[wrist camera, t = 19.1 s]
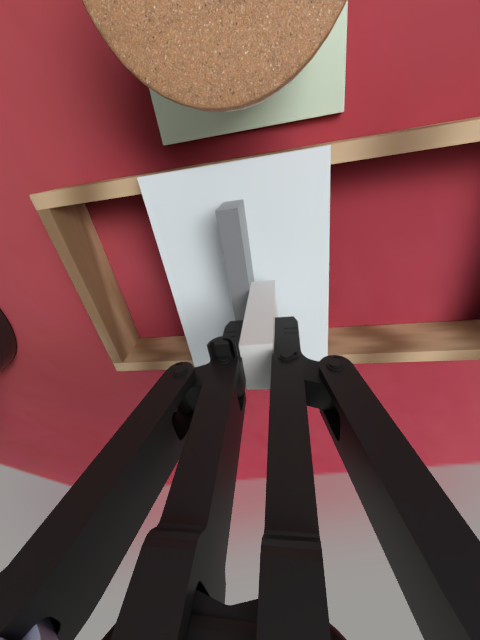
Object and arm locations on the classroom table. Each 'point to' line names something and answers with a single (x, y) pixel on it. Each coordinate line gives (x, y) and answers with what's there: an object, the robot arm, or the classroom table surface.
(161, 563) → the robot arm
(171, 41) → the lidded jar
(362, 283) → the classroom table surface
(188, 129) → the mat
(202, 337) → the lid
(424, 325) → the wooden rectangular frame
